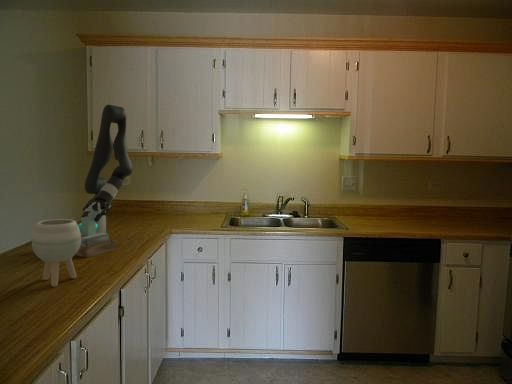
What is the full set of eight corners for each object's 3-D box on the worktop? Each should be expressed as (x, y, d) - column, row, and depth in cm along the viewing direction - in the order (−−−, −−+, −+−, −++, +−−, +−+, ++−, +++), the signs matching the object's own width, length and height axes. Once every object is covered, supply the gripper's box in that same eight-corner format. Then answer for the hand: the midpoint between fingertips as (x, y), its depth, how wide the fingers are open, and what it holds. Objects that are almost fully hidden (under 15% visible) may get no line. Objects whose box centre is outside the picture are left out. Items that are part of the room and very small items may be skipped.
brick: (81, 235, 185) (81, 217, 185) (89, 233, 190) (88, 216, 189) (88, 236, 184) (88, 218, 183) (95, 234, 188) (95, 217, 187)
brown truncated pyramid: (61, 252, 183) (60, 236, 182) (90, 245, 198) (89, 229, 198) (87, 257, 176) (87, 240, 175) (115, 249, 191) (115, 233, 191)
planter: (88, 275, 152) (87, 218, 150) (70, 289, 136) (69, 226, 133) (46, 274, 151) (45, 217, 149) (23, 288, 135) (21, 225, 133)
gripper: (92, 188, 196) (73, 214, 186) (113, 190, 190) (95, 217, 181) (100, 198, 201) (82, 223, 192) (121, 200, 195) (104, 226, 186)
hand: (88, 220), depth 186 cm, fingers open, 8 cm apart
